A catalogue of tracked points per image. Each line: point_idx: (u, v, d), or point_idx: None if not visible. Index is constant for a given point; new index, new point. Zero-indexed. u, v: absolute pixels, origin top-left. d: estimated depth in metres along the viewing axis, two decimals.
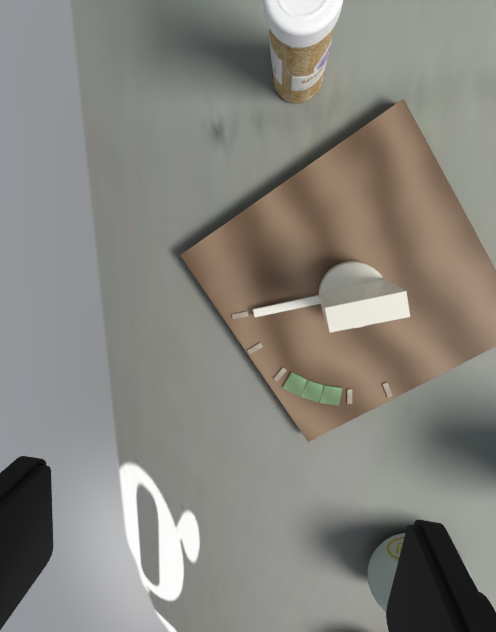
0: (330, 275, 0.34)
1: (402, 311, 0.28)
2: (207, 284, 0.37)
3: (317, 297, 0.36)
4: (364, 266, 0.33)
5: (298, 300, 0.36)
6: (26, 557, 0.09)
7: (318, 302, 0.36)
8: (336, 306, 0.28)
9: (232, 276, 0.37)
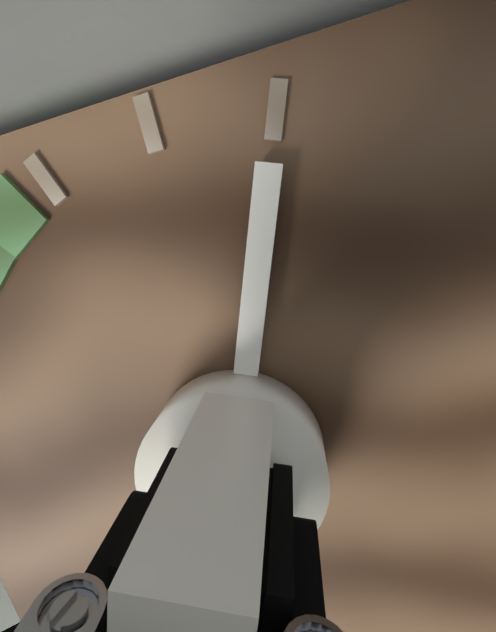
0: (314, 450, 0.11)
1: None
2: (427, 22, 0.10)
3: (253, 372, 0.12)
4: None
5: (262, 317, 0.12)
6: None
7: (238, 370, 0.12)
8: None
9: (414, 131, 0.11)
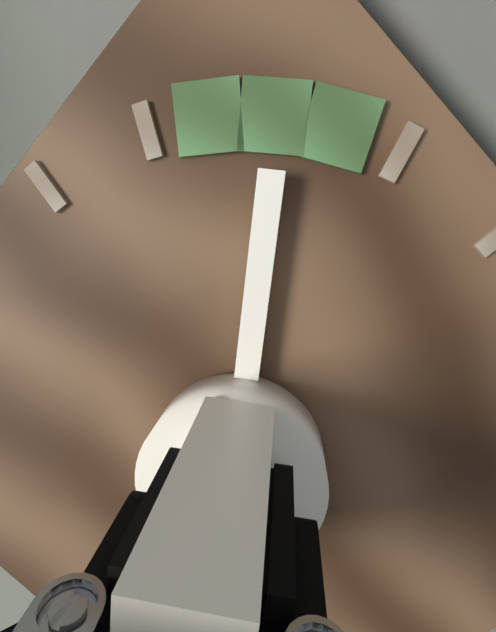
0: (314, 454, 0.11)
1: None
2: None
3: (254, 376, 0.12)
4: None
5: (263, 322, 0.12)
6: None
7: (239, 374, 0.12)
8: None
9: None
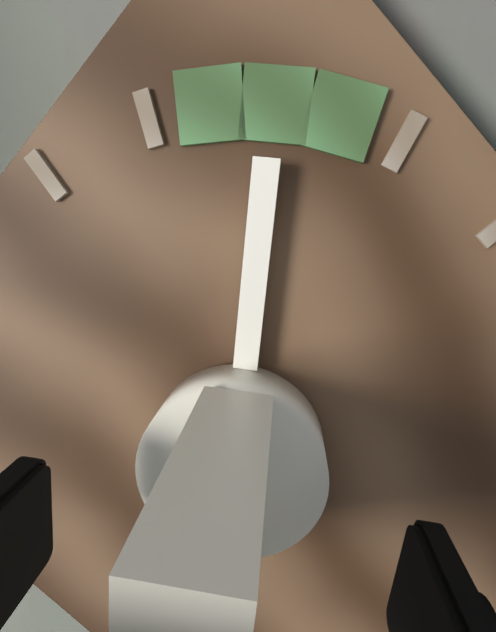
0: (313, 442, 0.11)
1: None
2: None
3: (252, 366, 0.12)
4: (304, 529, 0.12)
5: (261, 312, 0.12)
6: (26, 557, 0.09)
7: (237, 364, 0.12)
8: None
9: None
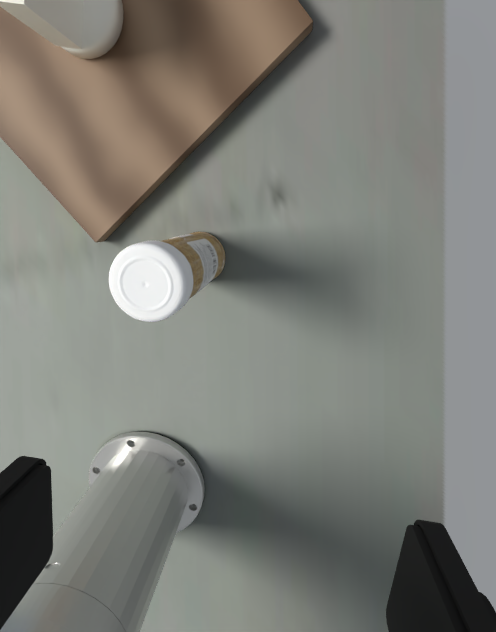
0: None
1: None
2: None
3: None
4: (102, 25, 0.26)
5: None
6: (26, 557, 0.09)
7: None
8: None
9: (237, 3, 0.27)
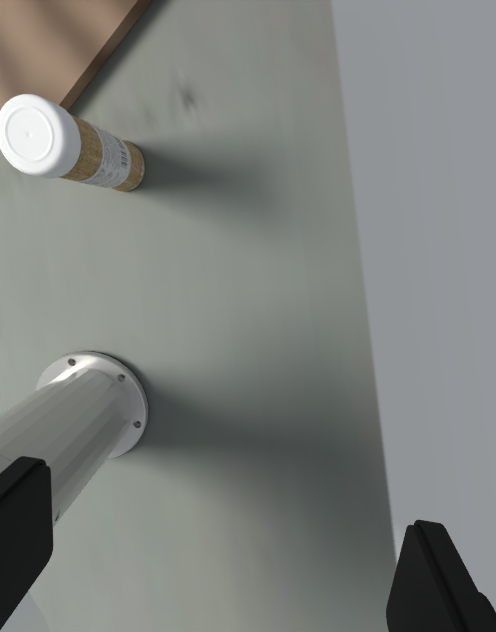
0: None
1: None
2: None
3: None
4: None
5: None
6: (26, 557, 0.09)
7: None
8: None
9: None
